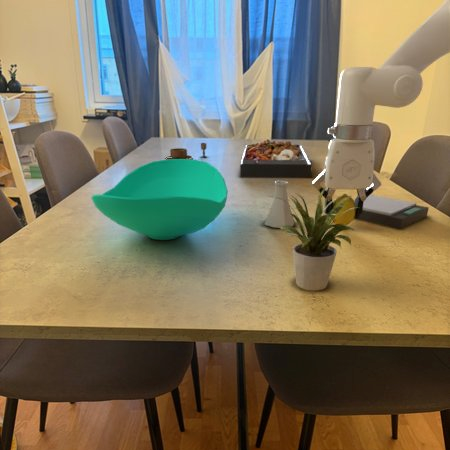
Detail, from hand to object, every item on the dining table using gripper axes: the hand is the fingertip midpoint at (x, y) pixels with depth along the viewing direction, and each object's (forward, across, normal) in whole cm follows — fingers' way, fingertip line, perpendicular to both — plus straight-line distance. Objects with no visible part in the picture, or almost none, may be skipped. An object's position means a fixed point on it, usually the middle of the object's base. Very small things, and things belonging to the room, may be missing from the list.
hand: (342, 215), depth 99 cm
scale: (+3, +12, +11) cm, 16 cm away
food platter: (+3, -10, +79) cm, 80 cm away
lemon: (+3, 0, 0) cm, 3 cm away
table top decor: (+3, -40, -5) cm, 41 cm away
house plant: (+3, -13, -31) cm, 34 cm away
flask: (+3, -14, +3) cm, 15 cm away
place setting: (+3, -45, +90) cm, 101 cm away
